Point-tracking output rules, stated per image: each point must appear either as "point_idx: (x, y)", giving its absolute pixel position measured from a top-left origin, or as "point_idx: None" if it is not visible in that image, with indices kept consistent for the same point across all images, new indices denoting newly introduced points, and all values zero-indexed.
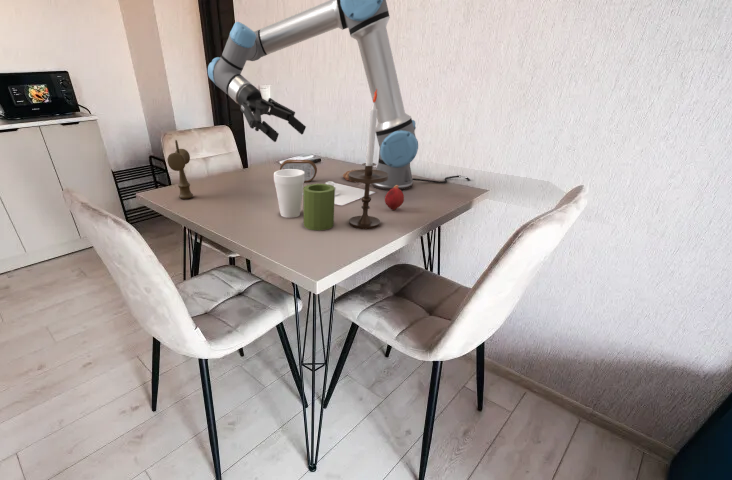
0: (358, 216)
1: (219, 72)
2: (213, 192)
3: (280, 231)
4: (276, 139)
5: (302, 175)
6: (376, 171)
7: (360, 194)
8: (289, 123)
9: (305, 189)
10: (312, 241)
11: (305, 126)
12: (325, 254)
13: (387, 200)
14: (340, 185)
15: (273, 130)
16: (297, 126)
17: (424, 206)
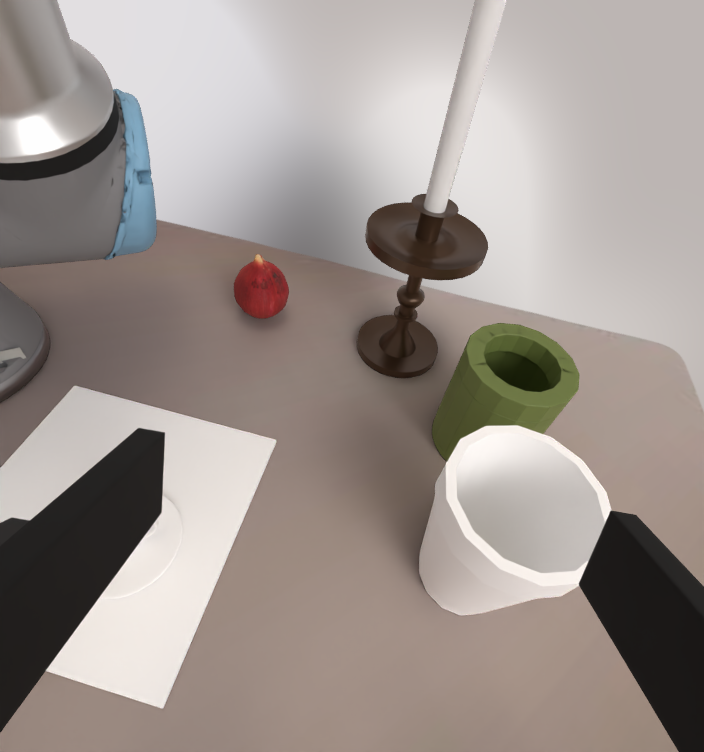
0: (373, 361)
1: None
2: None
3: None
4: (594, 563)
5: (505, 428)
6: (374, 226)
7: (116, 423)
8: (7, 713)
9: (571, 390)
10: (572, 410)
11: (140, 430)
12: (597, 366)
13: (284, 300)
14: None
15: (673, 559)
16: (113, 536)
17: (204, 269)
